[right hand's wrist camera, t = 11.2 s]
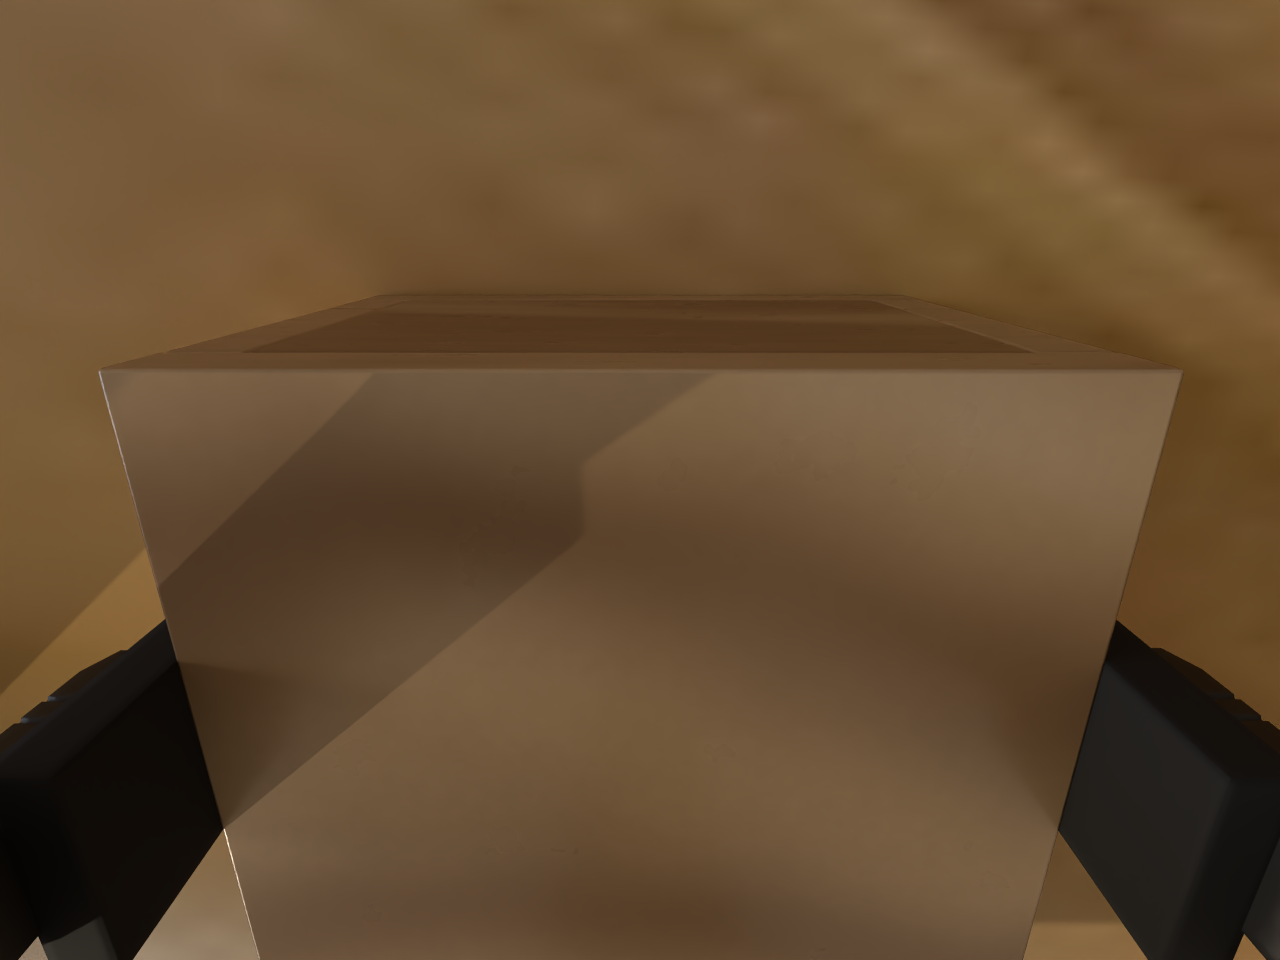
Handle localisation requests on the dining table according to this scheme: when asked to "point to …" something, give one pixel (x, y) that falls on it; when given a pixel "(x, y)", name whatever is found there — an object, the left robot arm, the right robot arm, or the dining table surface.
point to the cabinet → (640, 616)
